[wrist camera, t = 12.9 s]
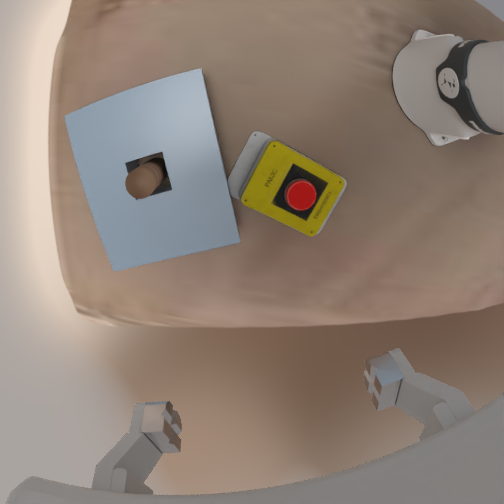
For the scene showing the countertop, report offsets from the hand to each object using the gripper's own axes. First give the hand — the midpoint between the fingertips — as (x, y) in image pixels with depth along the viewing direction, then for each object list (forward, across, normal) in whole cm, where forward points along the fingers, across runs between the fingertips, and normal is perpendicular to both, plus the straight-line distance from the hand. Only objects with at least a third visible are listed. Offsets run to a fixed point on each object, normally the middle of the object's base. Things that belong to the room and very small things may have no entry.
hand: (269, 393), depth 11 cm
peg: (+31, +9, -6) cm, 33 cm away
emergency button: (+32, -7, 0) cm, 33 cm away
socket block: (+31, +9, -6) cm, 33 cm away
